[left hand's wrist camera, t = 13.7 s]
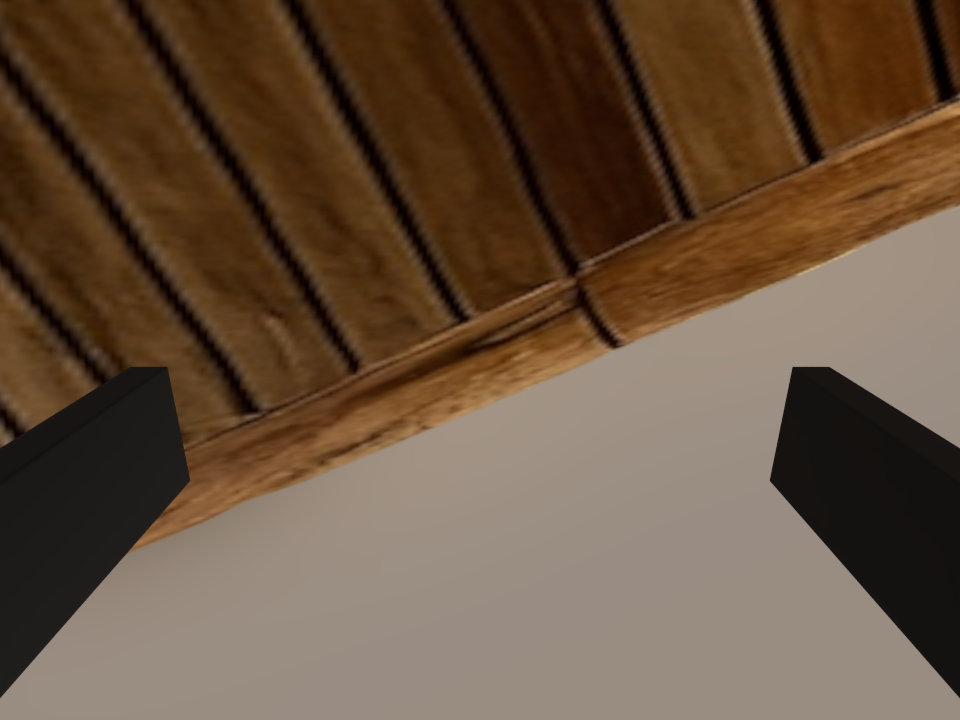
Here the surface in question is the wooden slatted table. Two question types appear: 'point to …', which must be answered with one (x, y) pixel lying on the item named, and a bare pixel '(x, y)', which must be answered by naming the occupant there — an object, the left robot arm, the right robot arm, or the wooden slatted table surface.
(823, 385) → the left robot arm
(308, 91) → the wooden slatted table surface
